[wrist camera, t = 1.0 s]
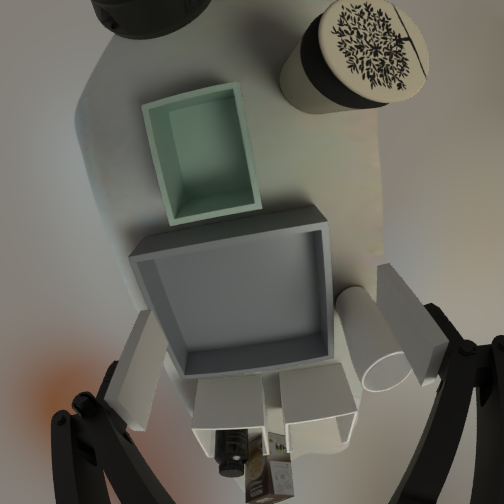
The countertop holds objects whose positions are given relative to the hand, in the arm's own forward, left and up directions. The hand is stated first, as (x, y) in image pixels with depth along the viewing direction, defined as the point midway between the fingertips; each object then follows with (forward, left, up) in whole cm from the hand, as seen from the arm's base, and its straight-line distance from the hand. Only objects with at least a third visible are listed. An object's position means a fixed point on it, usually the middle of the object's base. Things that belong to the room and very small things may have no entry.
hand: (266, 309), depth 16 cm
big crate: (+11, -4, -21) cm, 24 cm away
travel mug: (-14, +9, -21) cm, 27 cm away
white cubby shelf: (+34, -3, -21) cm, 40 cm away
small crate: (-8, -4, -21) cm, 23 cm away
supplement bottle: (+45, -13, -21) cm, 51 cm away
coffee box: (+54, -7, -21) cm, 58 cm away
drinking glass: (+16, +12, -21) cm, 29 cm away
